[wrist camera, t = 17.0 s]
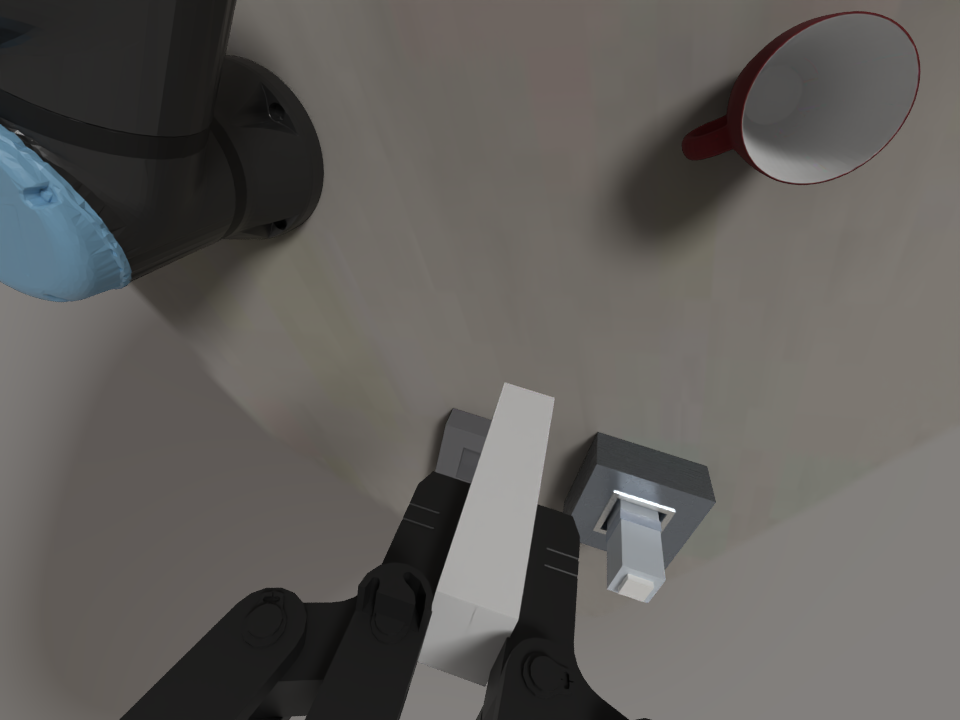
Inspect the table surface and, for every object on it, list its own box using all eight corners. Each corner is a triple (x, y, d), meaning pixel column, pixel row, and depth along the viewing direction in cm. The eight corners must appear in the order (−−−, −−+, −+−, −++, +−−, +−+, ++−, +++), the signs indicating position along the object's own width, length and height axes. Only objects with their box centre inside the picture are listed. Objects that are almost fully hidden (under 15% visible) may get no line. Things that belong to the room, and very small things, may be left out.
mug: (701, 197, 37) (727, 235, 29) (655, 102, 35) (670, 113, 27) (856, 112, 32) (941, 127, 24) (816, -7, 30) (895, -34, 22)
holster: (439, 467, 60) (432, 484, 57) (453, 408, 54) (445, 424, 52) (515, 492, 59) (511, 511, 57) (537, 434, 54) (533, 452, 51)
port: (564, 502, 58) (560, 540, 53) (597, 432, 51) (596, 468, 47) (660, 534, 57) (664, 575, 53) (707, 466, 50) (717, 507, 46)
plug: (606, 495, 55) (605, 595, 45) (619, 471, 53) (621, 570, 42) (641, 506, 55) (648, 610, 44) (656, 482, 53) (667, 585, 42)
